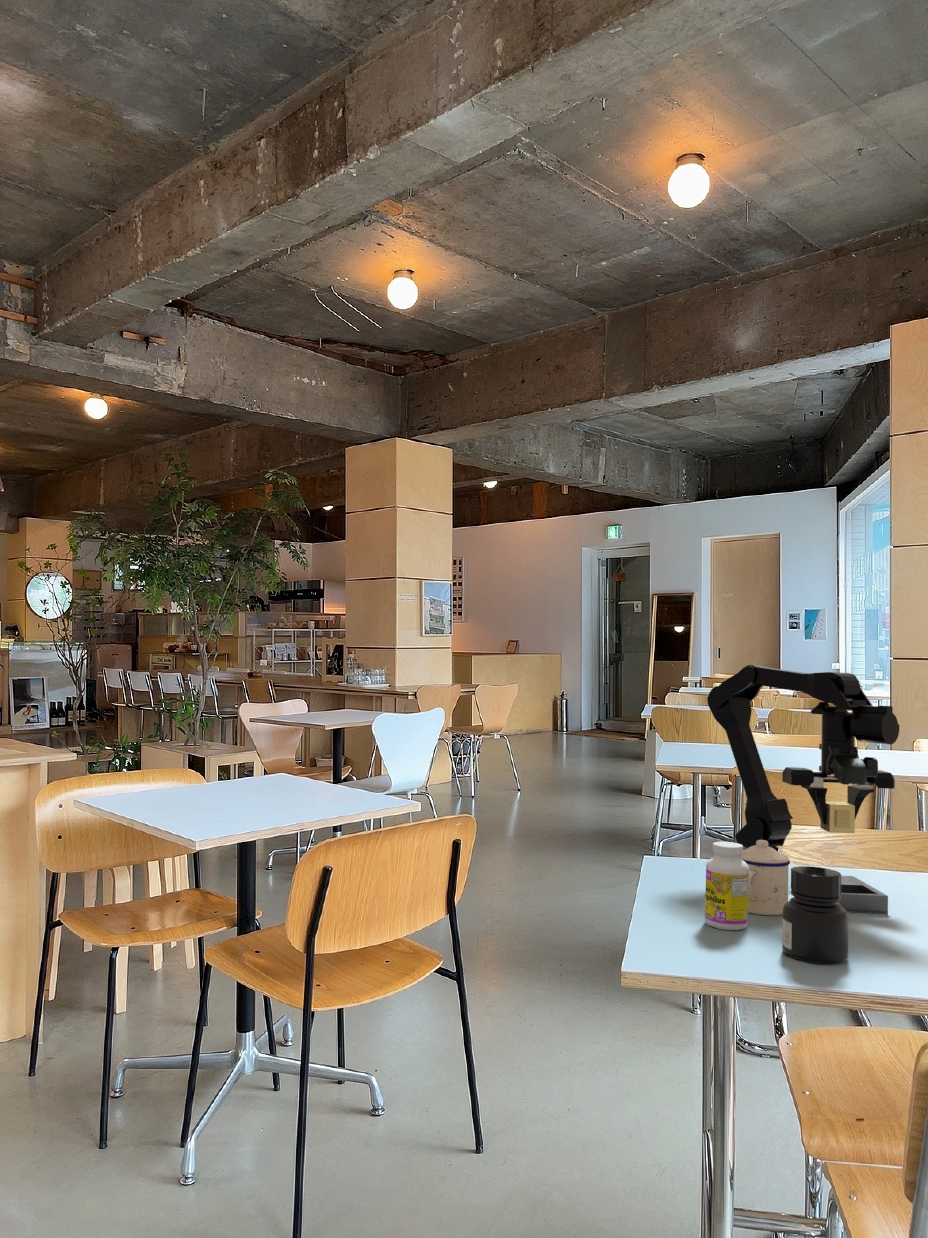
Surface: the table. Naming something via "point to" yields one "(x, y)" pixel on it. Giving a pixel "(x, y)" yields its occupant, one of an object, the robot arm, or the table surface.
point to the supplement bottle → (727, 887)
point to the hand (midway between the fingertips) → (837, 825)
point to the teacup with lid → (766, 879)
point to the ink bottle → (815, 917)
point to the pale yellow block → (839, 817)
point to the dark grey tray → (861, 897)
